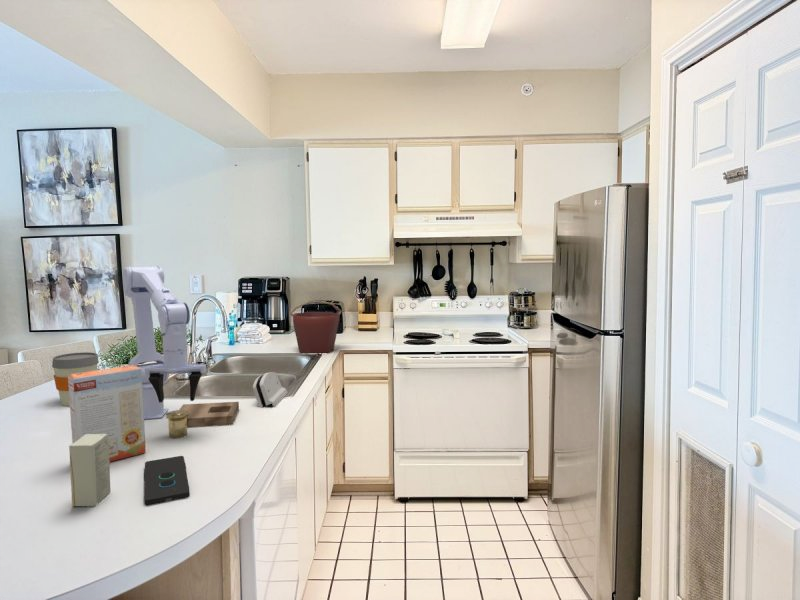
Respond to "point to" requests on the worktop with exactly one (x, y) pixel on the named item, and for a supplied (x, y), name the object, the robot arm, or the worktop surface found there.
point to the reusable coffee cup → (71, 370)
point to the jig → (211, 413)
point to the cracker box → (109, 408)
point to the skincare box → (89, 469)
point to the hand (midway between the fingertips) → (177, 400)
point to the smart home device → (165, 480)
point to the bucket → (316, 329)
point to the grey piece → (268, 389)
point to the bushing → (177, 423)
